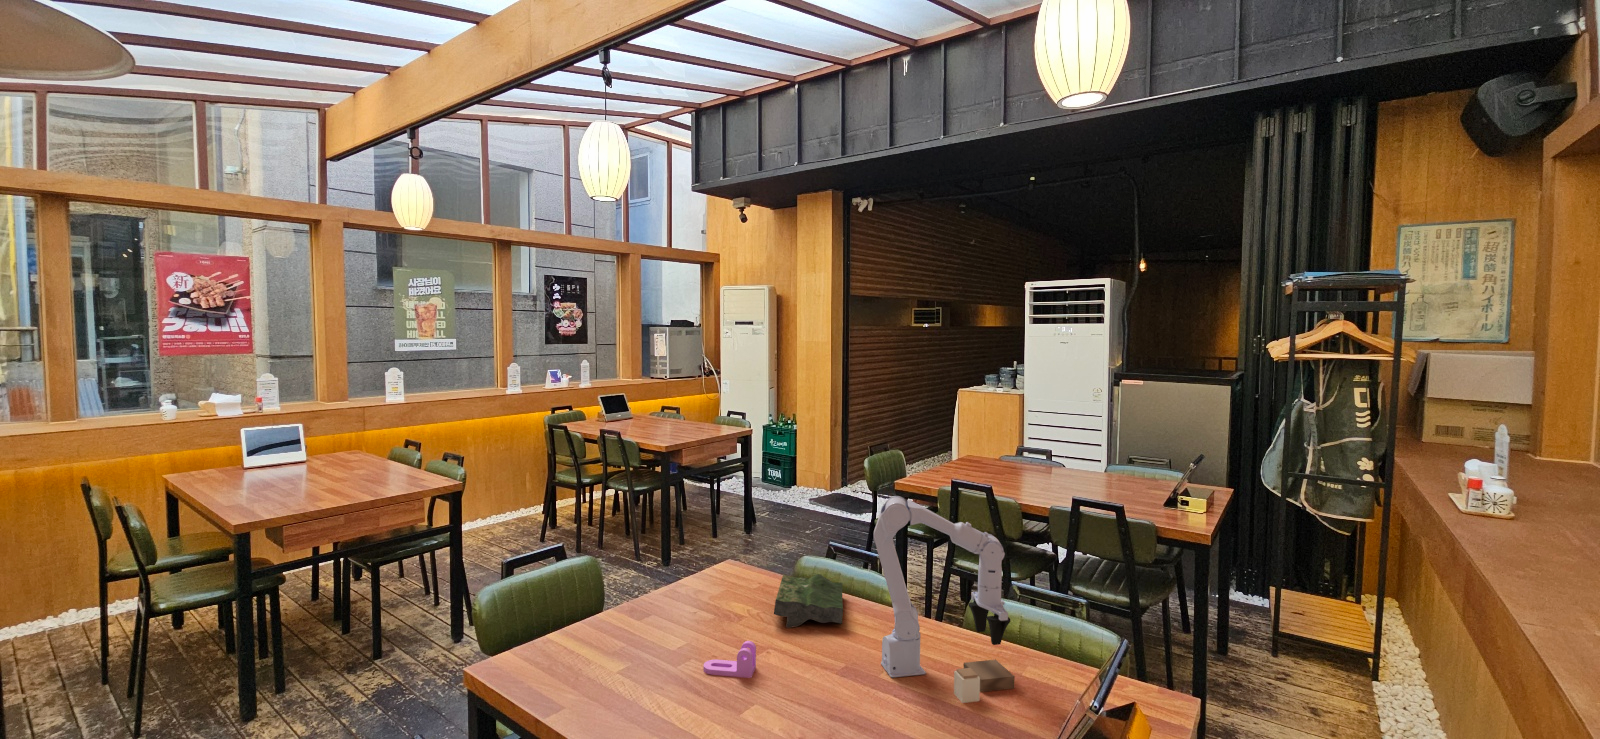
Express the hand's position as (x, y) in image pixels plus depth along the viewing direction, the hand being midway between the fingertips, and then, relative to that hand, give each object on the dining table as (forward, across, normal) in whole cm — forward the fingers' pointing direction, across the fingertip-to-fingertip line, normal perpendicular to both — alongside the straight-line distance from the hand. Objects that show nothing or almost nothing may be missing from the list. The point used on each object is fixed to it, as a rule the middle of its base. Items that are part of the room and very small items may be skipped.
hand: (988, 637), depth 167 cm
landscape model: (+10, +50, +34) cm, 61 cm away
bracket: (+10, +16, +64) cm, 67 cm away
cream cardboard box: (+10, -9, +10) cm, 17 cm away
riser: (+10, -3, +1) cm, 10 cm away
